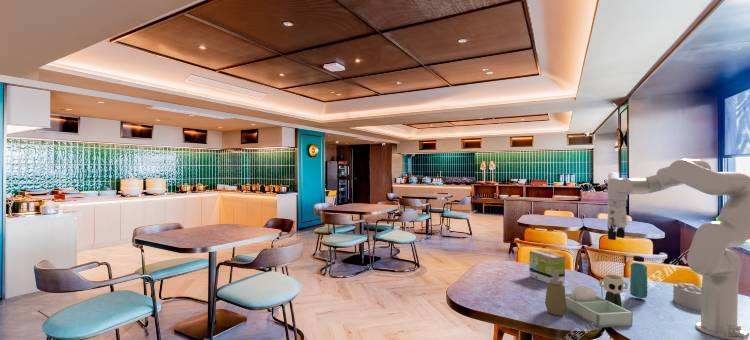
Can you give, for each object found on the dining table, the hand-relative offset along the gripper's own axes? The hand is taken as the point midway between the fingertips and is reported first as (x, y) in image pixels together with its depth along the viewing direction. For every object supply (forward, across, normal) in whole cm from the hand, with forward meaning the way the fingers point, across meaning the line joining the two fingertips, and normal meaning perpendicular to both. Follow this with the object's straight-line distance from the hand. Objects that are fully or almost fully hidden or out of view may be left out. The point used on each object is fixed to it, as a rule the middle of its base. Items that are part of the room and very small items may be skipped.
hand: (616, 238), depth 166 cm
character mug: (+27, -18, -6) cm, 33 cm away
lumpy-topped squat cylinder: (+27, +14, -25) cm, 39 cm away
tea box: (+27, -8, +30) cm, 41 cm away
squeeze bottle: (+27, -47, +4) cm, 55 cm away
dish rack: (+27, -35, -5) cm, 45 cm away
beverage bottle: (+27, +2, -9) cm, 29 cm away
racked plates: (+26, -33, 0) cm, 42 cm away
